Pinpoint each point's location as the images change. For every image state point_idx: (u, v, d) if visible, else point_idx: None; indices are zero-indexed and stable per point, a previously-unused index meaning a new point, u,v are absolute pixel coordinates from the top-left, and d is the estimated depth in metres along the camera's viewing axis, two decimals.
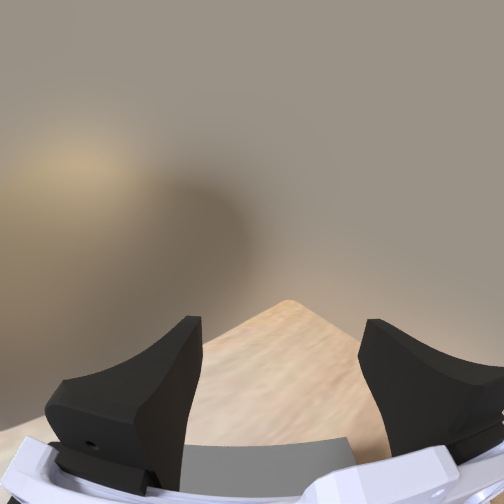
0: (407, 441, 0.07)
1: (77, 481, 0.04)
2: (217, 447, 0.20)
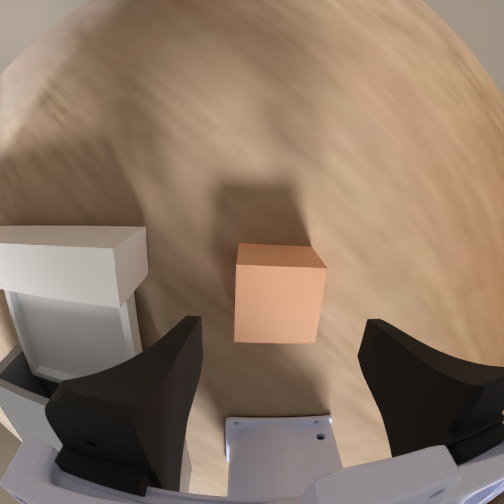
0: (407, 441, 0.07)
1: (77, 481, 0.04)
2: None
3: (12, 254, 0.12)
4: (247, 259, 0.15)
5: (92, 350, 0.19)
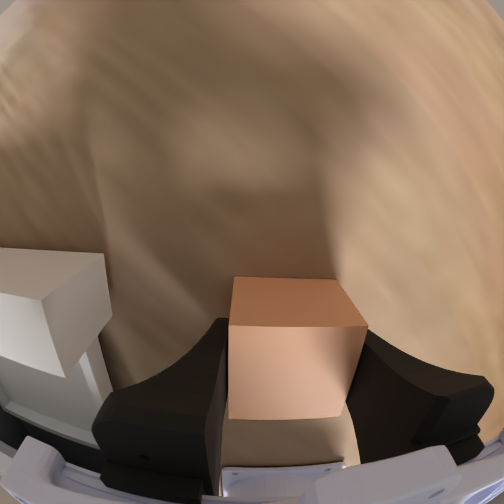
0: (374, 449, 0.07)
1: (125, 496, 0.04)
2: None
3: None
4: (246, 311, 0.09)
5: (60, 395, 0.14)
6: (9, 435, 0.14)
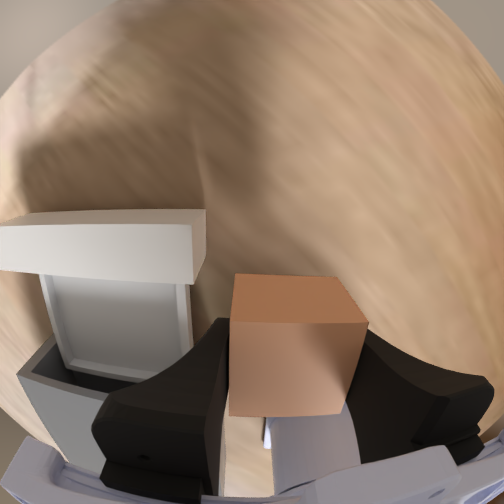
0: (374, 449, 0.07)
1: (124, 496, 0.04)
2: (65, 454, 0.18)
3: (66, 236, 0.13)
4: (247, 308, 0.10)
5: (137, 337, 0.20)
6: None
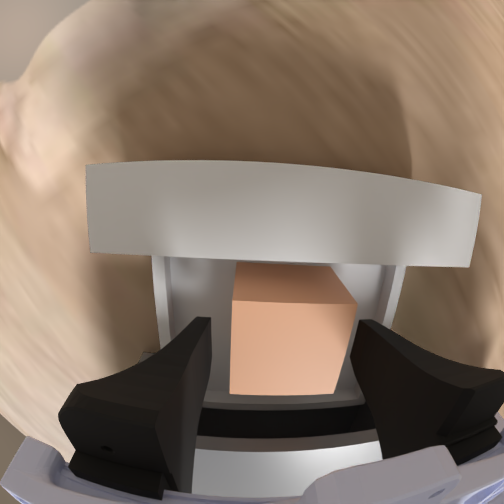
0: (397, 444, 0.07)
1: (91, 486, 0.04)
2: None
3: (310, 186, 0.08)
4: (247, 290, 0.11)
5: None
6: None
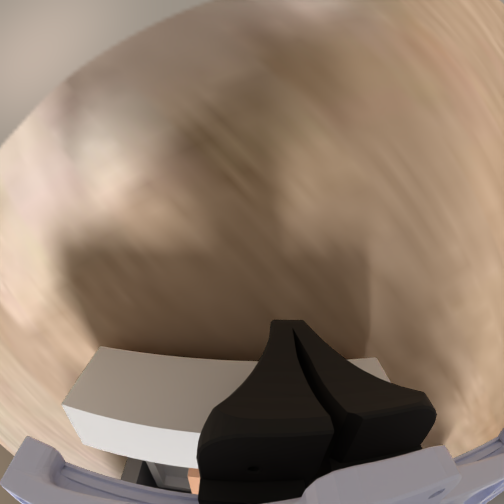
0: None
1: None
2: None
3: None
4: None
5: None
6: None
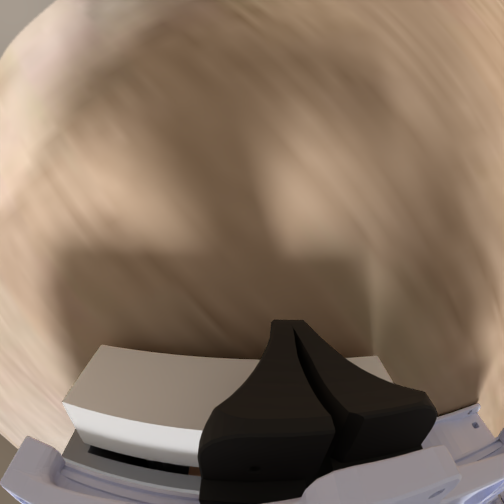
0: None
1: None
2: None
3: None
4: None
5: None
6: (130, 461, 0.14)
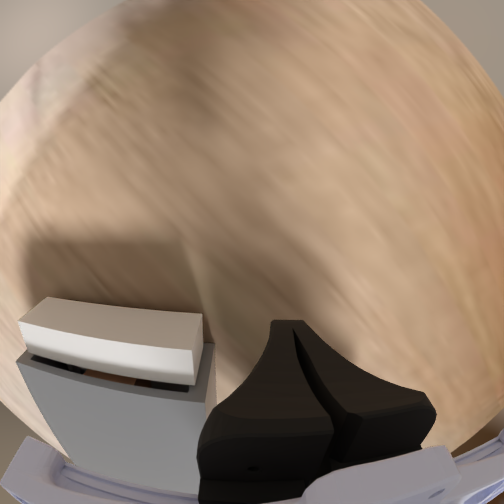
0: None
1: None
2: (60, 443, 0.19)
3: (90, 344, 0.16)
4: (90, 372, 0.19)
5: None
6: None
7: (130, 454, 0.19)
